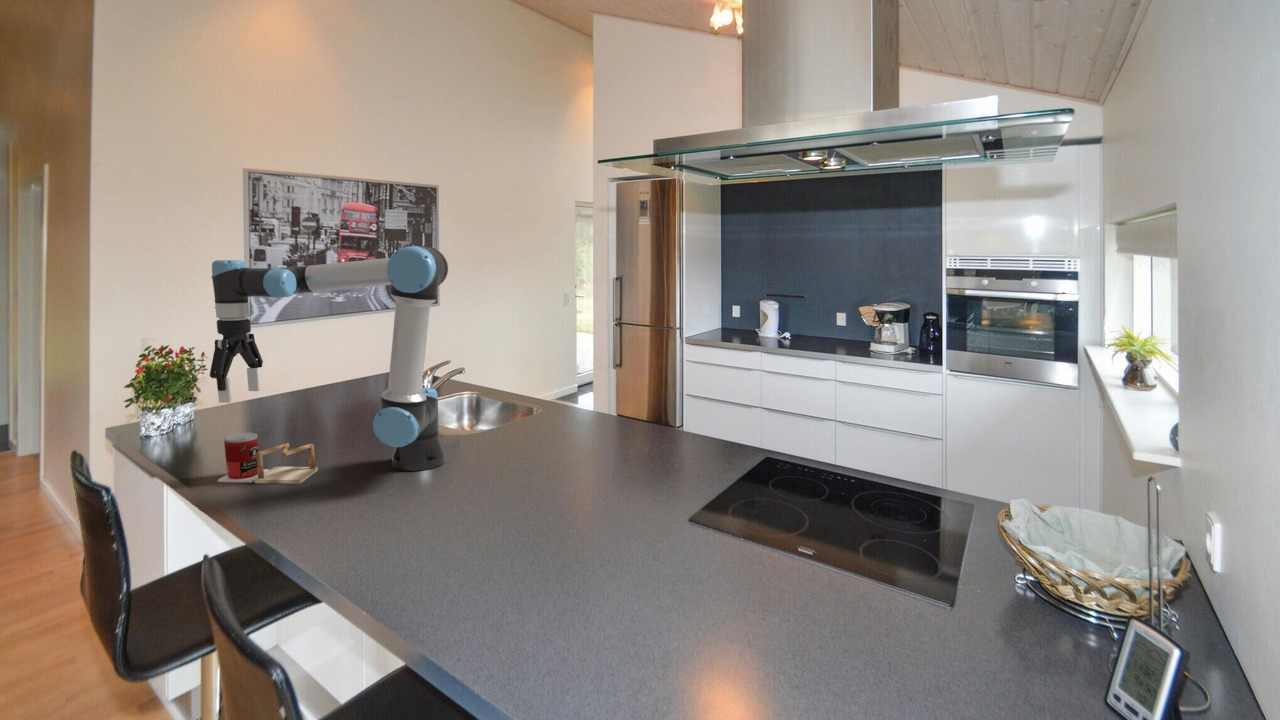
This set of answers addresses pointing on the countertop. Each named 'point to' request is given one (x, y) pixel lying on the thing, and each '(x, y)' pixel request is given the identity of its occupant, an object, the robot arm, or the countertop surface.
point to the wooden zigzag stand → (285, 473)
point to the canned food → (241, 455)
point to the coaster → (228, 479)
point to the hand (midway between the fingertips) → (240, 396)
